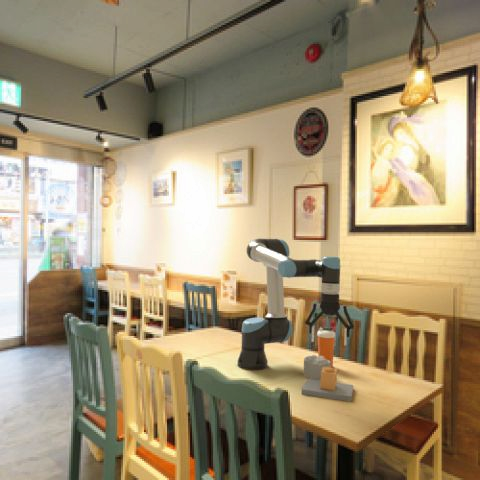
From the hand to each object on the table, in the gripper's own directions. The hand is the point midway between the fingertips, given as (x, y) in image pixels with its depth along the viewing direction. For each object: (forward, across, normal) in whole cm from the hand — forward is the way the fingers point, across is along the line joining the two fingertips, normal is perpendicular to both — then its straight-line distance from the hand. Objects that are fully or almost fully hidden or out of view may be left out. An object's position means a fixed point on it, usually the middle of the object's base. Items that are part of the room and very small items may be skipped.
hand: (328, 343), depth 172 cm
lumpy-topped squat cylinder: (+21, -8, +20) cm, 30 cm away
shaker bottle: (+21, -5, +35) cm, 41 cm away
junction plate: (+21, 0, 0) cm, 21 cm away
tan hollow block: (+18, 0, 0) cm, 18 cm away
